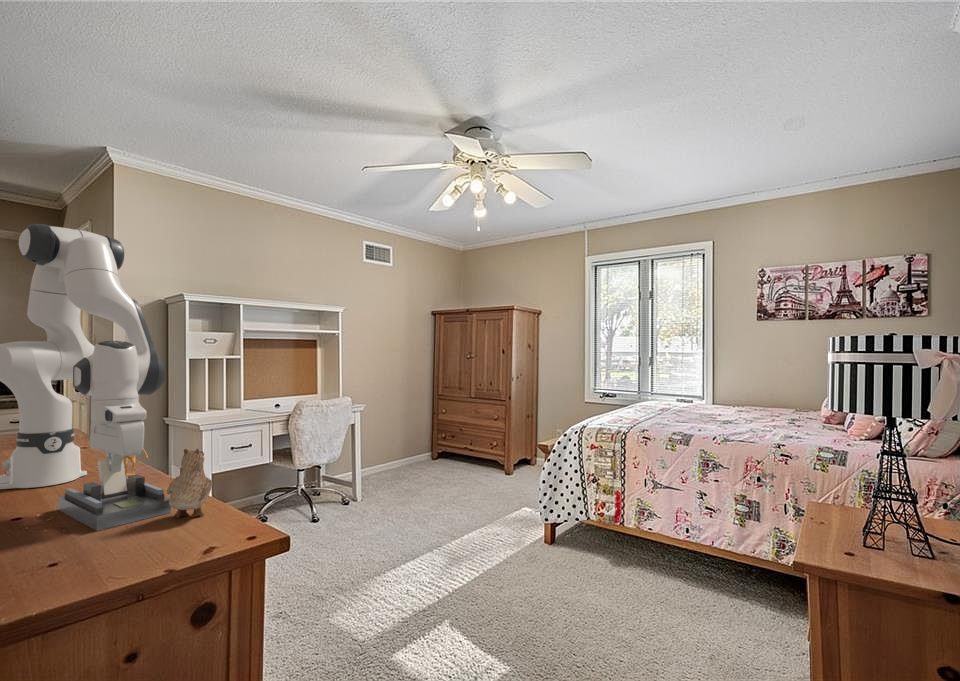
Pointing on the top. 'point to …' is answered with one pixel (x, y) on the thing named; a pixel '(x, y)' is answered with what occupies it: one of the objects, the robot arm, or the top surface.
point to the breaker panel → (116, 506)
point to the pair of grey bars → (97, 505)
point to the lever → (111, 480)
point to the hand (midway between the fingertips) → (114, 471)
